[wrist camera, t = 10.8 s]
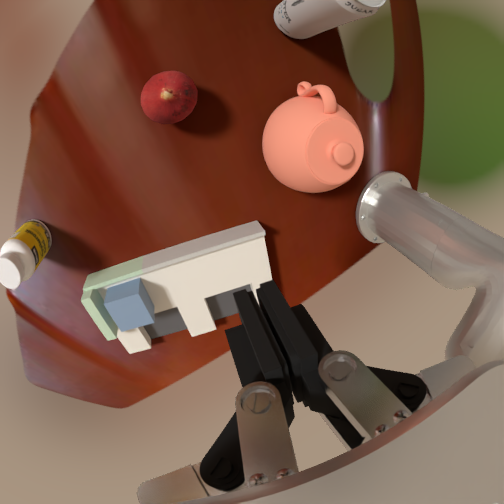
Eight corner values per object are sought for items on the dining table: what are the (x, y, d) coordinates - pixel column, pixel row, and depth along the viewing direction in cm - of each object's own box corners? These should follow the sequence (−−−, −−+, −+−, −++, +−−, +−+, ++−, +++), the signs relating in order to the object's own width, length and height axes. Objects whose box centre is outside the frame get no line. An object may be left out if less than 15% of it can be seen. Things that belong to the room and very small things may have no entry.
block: (140, 277, 34) (138, 293, 31) (154, 305, 36) (154, 322, 33) (107, 288, 33) (103, 304, 30) (123, 315, 36) (121, 332, 33)
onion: (195, 75, 26) (203, 63, 20) (193, 121, 29) (200, 123, 22) (145, 77, 25) (136, 66, 18) (144, 124, 28) (135, 127, 21)
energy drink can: (277, -4, 23) (340, -51, 10) (318, 13, 25) (394, -18, 12) (265, 31, 25) (328, -10, 13) (309, 47, 27) (387, 25, 15)
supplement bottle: (59, 244, 31) (33, 285, 22) (34, 259, 30) (8, 301, 22) (40, 211, 28) (6, 244, 20) (16, 228, 27) (-17, 264, 19)
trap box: (256, 220, 37) (270, 237, 33) (272, 299, 45) (284, 321, 40) (88, 274, 34) (79, 298, 29) (130, 342, 41) (129, 367, 37)
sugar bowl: (263, 193, 36) (295, 223, 27) (246, 88, 29) (277, 79, 20) (342, 177, 38) (388, 199, 29) (334, 81, 31) (385, 79, 22)
